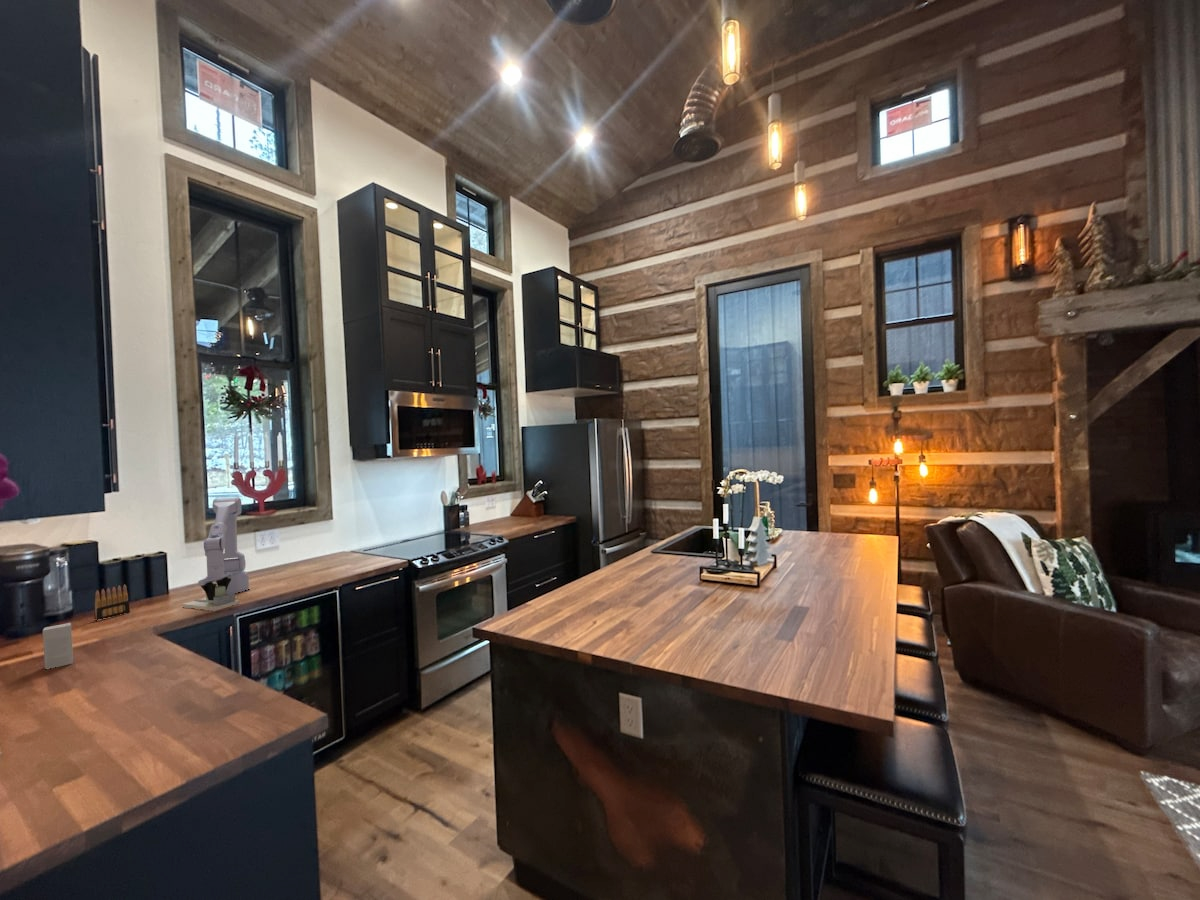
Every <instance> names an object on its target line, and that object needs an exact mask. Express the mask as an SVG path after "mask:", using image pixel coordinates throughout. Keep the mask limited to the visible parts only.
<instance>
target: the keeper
mask: <svg viewBox="0 0 1200 900" xmlns="http://www.w3.org/2000/svg"><path fill="white" fill-rule="evenodd" d="M224 594H226V590H225V586H218V585H216V588H215V597H217V596H220V595H224ZM205 598H206V602H207V603H214V601H213V600H208V597H207V595H206V594H205Z"/></svg>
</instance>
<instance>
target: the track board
mask: <svg viewBox="0 0 1200 900" xmlns="http://www.w3.org/2000/svg"><path fill="white" fill-rule="evenodd" d="M235 604H237V605H239V604H240V600H238V599H235V602H231V603H228V604H224V605H221V606H214V603H207V602H206V597H204V598H203V597H202V598H198V599H194V600H193V601H192V600H191V601H188V602H184V603H182V608H183V607H184V609H191V608H195V609H194V610H200V609H204V610H203V611H208V610H209V611H210V612H211V611H212V612H216V611H220V610H223V609H226V608H229V607H233V606H232V605H234V606H236V605H235Z"/></svg>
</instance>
